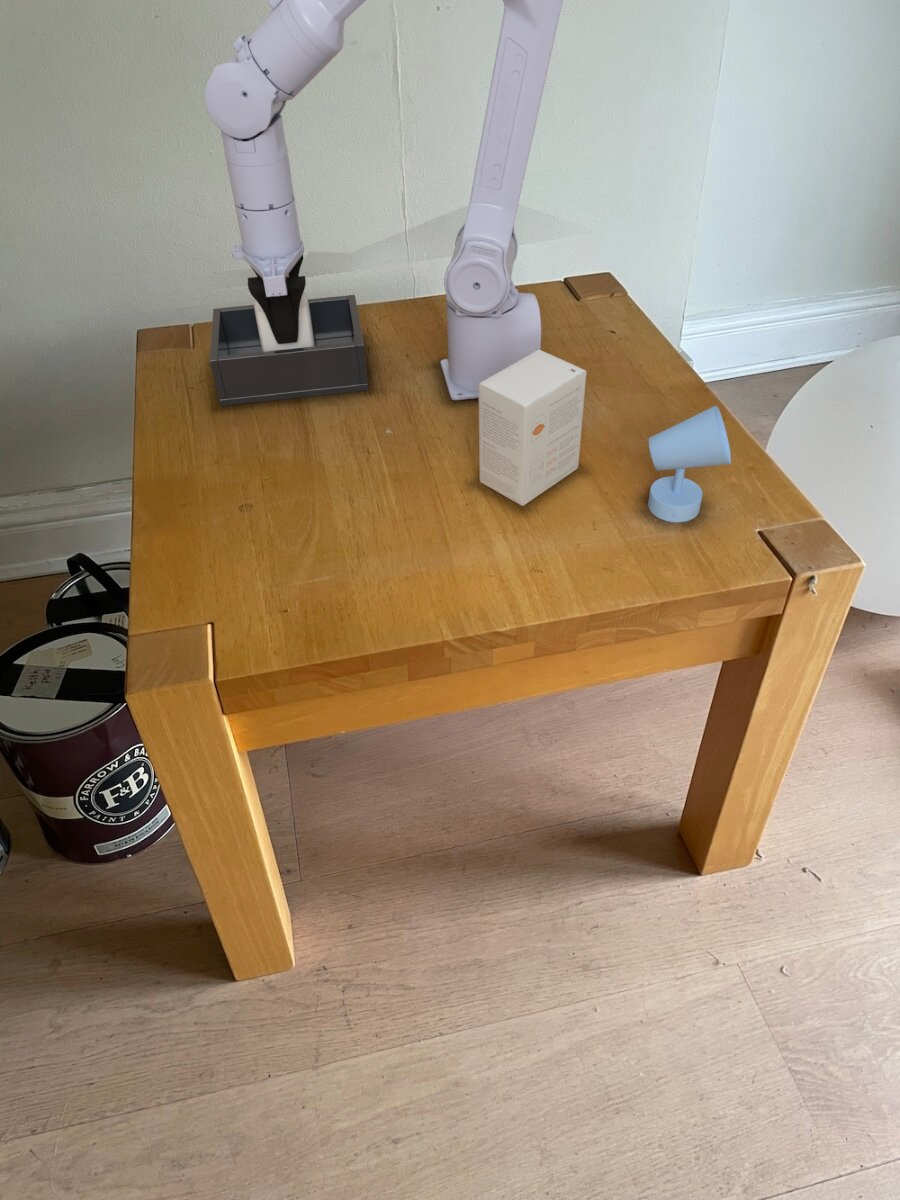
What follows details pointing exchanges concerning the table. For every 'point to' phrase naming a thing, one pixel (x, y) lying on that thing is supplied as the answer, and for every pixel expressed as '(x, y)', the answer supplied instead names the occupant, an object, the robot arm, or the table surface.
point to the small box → (530, 425)
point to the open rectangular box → (288, 355)
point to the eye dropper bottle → (303, 333)
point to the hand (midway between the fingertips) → (286, 331)
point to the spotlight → (686, 463)
